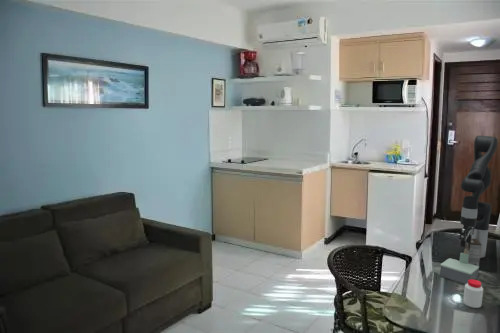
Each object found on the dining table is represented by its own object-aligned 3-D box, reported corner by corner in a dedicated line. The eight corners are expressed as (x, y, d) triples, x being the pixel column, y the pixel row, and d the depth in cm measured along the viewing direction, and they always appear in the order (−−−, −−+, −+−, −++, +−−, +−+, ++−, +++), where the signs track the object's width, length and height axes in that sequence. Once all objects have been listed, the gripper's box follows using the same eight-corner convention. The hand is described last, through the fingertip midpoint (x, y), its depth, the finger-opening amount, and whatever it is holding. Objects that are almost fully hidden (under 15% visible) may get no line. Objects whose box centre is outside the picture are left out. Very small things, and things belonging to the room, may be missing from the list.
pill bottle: (459, 299, 202) (462, 278, 200) (474, 299, 203) (477, 278, 201) (469, 308, 195) (471, 285, 193) (484, 307, 195) (487, 285, 193)
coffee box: (461, 263, 244) (464, 237, 241) (473, 265, 243) (476, 238, 240) (466, 270, 235) (469, 243, 232) (478, 271, 234) (482, 244, 231)
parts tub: (448, 269, 236) (449, 259, 235) (477, 278, 225) (478, 267, 224) (439, 276, 228) (440, 265, 226) (469, 285, 217) (470, 274, 216)
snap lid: (449, 260, 235) (450, 249, 234) (478, 269, 224) (480, 257, 223) (440, 267, 227) (441, 255, 225) (470, 276, 216) (472, 264, 215)
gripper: (466, 211, 232) (463, 239, 235) (456, 216, 222) (453, 246, 225) (481, 214, 227) (477, 243, 229) (471, 220, 217) (468, 250, 220)
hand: (465, 244), depth 227 cm, fingers open, 8 cm apart
